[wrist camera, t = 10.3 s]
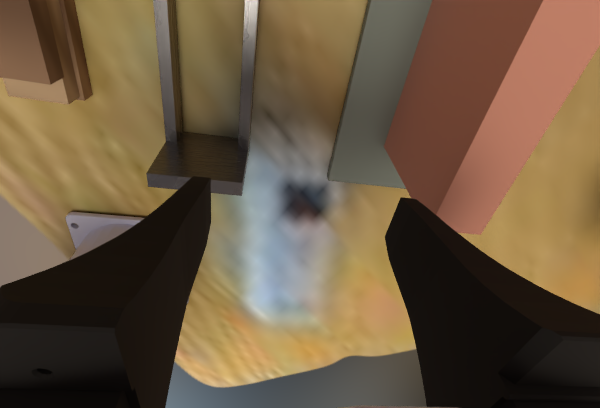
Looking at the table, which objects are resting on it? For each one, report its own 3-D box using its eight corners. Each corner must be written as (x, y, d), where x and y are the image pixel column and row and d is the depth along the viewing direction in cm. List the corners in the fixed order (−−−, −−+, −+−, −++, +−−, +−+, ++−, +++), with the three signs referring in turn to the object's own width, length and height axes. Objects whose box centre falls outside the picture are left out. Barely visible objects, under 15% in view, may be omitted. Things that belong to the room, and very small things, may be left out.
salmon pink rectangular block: (421, 151, 21) (480, 234, 15) (383, 146, 21) (428, 229, 15) (498, -40, 16) (650, -37, 9) (448, -50, 15) (569, -54, 9)
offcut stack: (94, 93, 19) (61, 117, 16) (37, 85, 19) (-7, 108, 16) (60, -88, 15) (5, -98, 12) (-17, -104, 14) (-93, -119, 11)
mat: (442, 188, 24) (446, 193, 24) (327, 175, 23) (328, 180, 22) (588, -113, 15) (599, -115, 14) (405, -158, 14) (410, -162, 13)
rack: (249, 151, 22) (241, 195, 18) (173, 142, 21) (148, 186, 17) (270, -147, 14) (265, -189, 10) (149, -174, 13) (90, -232, 9)
